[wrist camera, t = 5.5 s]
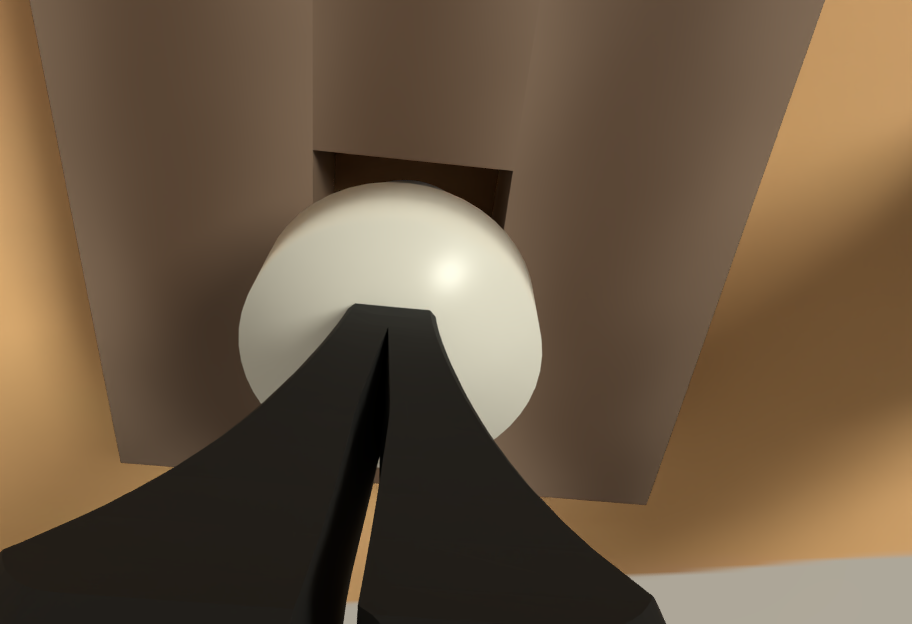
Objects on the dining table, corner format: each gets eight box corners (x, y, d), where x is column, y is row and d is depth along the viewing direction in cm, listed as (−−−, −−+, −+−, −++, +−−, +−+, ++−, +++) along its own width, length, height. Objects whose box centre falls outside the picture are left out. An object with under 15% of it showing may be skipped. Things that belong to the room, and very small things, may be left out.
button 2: (541, 145, 14) (568, 237, 10) (505, 349, 17) (517, 478, 13) (288, 118, 14) (228, 203, 10) (292, 330, 16) (246, 457, 13)
